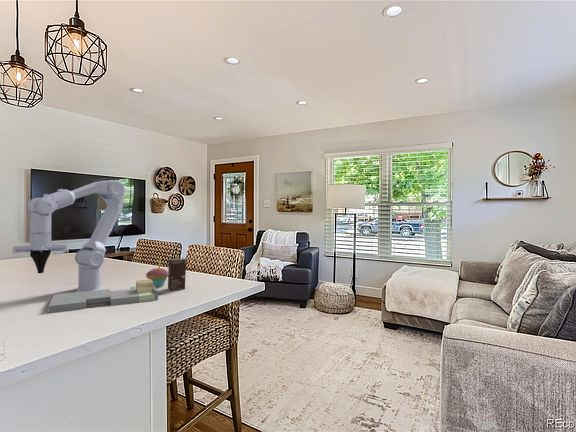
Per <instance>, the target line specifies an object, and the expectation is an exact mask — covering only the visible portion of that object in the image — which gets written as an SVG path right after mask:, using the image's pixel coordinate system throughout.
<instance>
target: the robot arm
mask: <svg viewBox="0 0 576 432" xmlns="http://www.w3.org/2000/svg"><path fill="white" fill-rule="evenodd" d="M126 192H127V190H126V188H125V186H124V184H123V182H122V181H121V180H118V179H113V180H100V181H95V182H91V183H88V184H86V185H84V186H81V187H78V188H75V189H73V190H69V189H66V188H65V189H63V188H59V189H56V191H55V192H53V193H50V194H47V193H44V194H43V195H42V197H34V198H32V199H30V200H29V201H28V203H27V205H26V210H27V211H28V212H29V213H30V217H29V218H30V220H29V221H30V223H29V224H30V225H29V226H30V227H29V229H30V230H29V232H30V233H29V234H30V235H29V236H30V237H29V245H20V246H18V245H16V246H12V254H17V253H30V254H29V255H30V257H31V259H32V260H33V262H34V265H35V266H36V271H37V274H44V272H45V266H46V264H47V262H48V259H49V257H50V255H51V254H52V252H61V251H63V252H65V251H66V252H67V251H68V245H67V244H52V214H54V212H55V211H57V210H59V209H62V208H65V207H68V206H71V205H73V204H74V203H75V201H76V200H78V199H80V198H84V197H86V196H90V195H92V194H99V197H100V198H102V200H104V202H105V204H106V207H105V209H104V211H103V213H102V215H101V217H100V219H99V221H98V223H97V225H96V227H95V229H94V230H93V233H92V235H91V237H90V239H89V241H87V242H85V244H83V246H82V247H81V249H79V250H78V251H76V253H75V255H74V261H75V262H76V264H77V265H78V269H77V270H78V271H77V273H78V275H77V277H78V278H77V281H78V282H77V283H78V287H77V289H76V292H84V291H95V290H103V289H102V284H101V269H102V268H101V267H102V265H103V263H104V262H105V254H106V252H107V249H106V247H105V245H106V242H107V241H108V238H109V236H110V234H111V232H112V230H113V228H114V227H115V225H116V222H117V220H118V218H119V216H120V214H121V212H122V209H123V207H124V201H125V200H124V199H125V198H124V197H125V193H126Z"/></svg>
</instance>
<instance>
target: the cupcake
mask: <svg viewBox="0 0 576 432" xmlns="http://www.w3.org/2000/svg"><path fill="white" fill-rule="evenodd" d="M161 263H162V257H160V258H159V260H158V268H153V269H150V270H149V271H147V272H146V273H145V277H146V278H147V279H151V280H152V281H153V284H154V286H155V287H156V288H159V287H163V286H164V285H165V282H166V279H168V270H166V269H164V268H161Z"/></svg>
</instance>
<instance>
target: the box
mask: <svg viewBox="0 0 576 432" xmlns="http://www.w3.org/2000/svg"><path fill="white" fill-rule="evenodd" d="M167 267H168V269H167V272H168V277H167V289H168V290H169V291H175V290H184V289H186V274H187V273H186V271H187V259H185V258H184V257H179V258H178V257H176V258H175V257H174V258H169V259H168V265H167Z"/></svg>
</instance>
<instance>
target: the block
mask: <svg viewBox="0 0 576 432" xmlns="http://www.w3.org/2000/svg"><path fill="white" fill-rule="evenodd" d="M135 282H136V283H135V287H136V291H137V293H141V292H151V291H153V281H152V280H151V279H148V278H147V279H145V278H144V279H136V280H135Z"/></svg>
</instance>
